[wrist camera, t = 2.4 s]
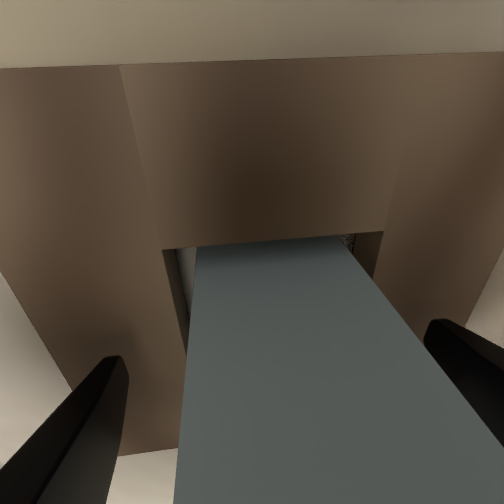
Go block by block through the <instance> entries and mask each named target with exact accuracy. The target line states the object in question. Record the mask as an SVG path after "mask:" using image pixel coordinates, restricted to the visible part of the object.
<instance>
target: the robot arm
mask: <svg viewBox="0 0 504 504" xmlns="http://www.w3.org/2000/svg"><path fill="white" fill-rule="evenodd" d="M423 343H424V346H425V348H426V349H427V351H428V352H429V353H430V354H431V356H432V357H433V358H434V360H435V361H436V362H437V363H438V365H439V366H440V367H441V369H442V370H443V371H444V372H445V374H446V375H447V376H448V377H449V379H450V380H451V381H452V383H453V384H454V385H455V386H456V388H457V389H458V390H459V392H460V393H461V394H462V395H463V397H464V398H465V399H466V400H467V402H468V403H469V404H470V406H471V407H472V408H473V409H474V411H475V412H476V413H477V415H478V416H479V417H480V418H481V420H482V421H483V422H484V423H485V425H486V426H487V427H488V429H489V430H490V431H491V432H492V434H493V435H494V436H495V437H496V439H497V440H498V441H499V443H500V444H501V445H502V446H503V448H504V348H502V347H500V346H498V345H496V344H494V343H492V342H490V341H489V340H487V339H485V338H483V337H481V336H479V335H477V334H475V333H473V332H472V331H470V330H468V329H466V328H464V327H462V326H460V325H458V324H457V323H455V322H453V321H451V320H449V319H446V318H440V319H433V320H431V321H430V322H429V325H428V327H427V330H426V332H425V335H424V337H423ZM128 388H129V372H128V370H127V368H126V365H125V363H124V360H123V358H122V356H120V355H114V356H106V357H104V358H103V359H102V360H101V361H100V362H99V363H98V364H97V365H96V366H95V367H94V369H93V370H92V371H91V372H90V373H89V374H88V375H87V376H86V377H85V378H84V379H83V380H82V382H81V383H80V384H79V385H78V386H77V387H76V388H75V389H74V390H73V391H72V392H71V393H70V394H69V396H68V397H67V398H66V399H65V400H64V401H63V402H62V403H61V404H60V405H59V406H58V407H57V409H56V410H55V411H54V412H53V413H52V414H51V415H50V416H49V417H48V418H47V419H46V420H45V422H44V423H43V424H42V425H41V426H40V427H39V428H38V429H37V430H36V431H35V432H34V433H33V435H32V436H31V437H30V438H29V439H28V440H27V441H26V442H25V443H24V444H23V445H22V446H21V448H20V449H19V450H18V451H17V452H16V453H15V454H14V455H13V456H12V457H11V458H10V459H9V461H8V462H7V463H6V464H5V465H4V466H3V467H2V468H1V469H0V504H106V501H107V496H108V492H109V488H110V484H111V480H112V476H113V472H114V468H115V464H116V460H117V456H118V452H119V447H120V443H121V437H122V431H123V424H124V417H125V410H126V402H127V395H128Z"/></svg>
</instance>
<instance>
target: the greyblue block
mask: <svg viewBox="0 0 504 504" xmlns="http://www.w3.org/2000/svg"><path fill="white" fill-rule="evenodd" d="M173 504H504V448H503V446H502V445H501V444H500V443H499V441H498V440H497V439H496V437H495V436H494V435H493V434H492V432H491V431H490V430H489V429H488V427H487V426H486V425H485V423H484V422H483V421H482V420H481V418H480V417H479V416H478V415H477V413H476V412H475V411H474V409H473V408H472V407H471V406H470V404H469V403H468V402H467V400H466V399H465V398H464V397H463V395H462V394H461V393H460V392H459V390H458V389H457V388H456V386H455V385H454V384H453V383H452V381H451V380H450V379H449V377H448V376H447V375H446V374H445V372H444V371H443V370H442V369H441V367H440V366H439V365H438V363H437V362H436V361H435V360H434V358H433V357H432V356H431V354H430V353H429V352H428V351H427V349H426V348H425V347H424V346H423V344H422V343H421V342H420V340H419V339H418V338H417V337H416V335H415V334H414V333H413V331H412V330H411V329H410V328H409V326H408V325H407V324H406V323H405V321H404V320H403V319H402V317H401V316H400V315H399V314H398V312H397V311H396V310H395V309H394V307H393V306H392V305H391V303H390V302H389V301H388V300H387V298H386V297H385V296H384V294H383V293H382V292H381V291H380V289H379V288H378V287H377V286H376V284H375V283H374V282H373V280H372V279H371V278H370V277H369V275H368V274H367V273H366V271H365V270H364V269H363V268H362V266H361V265H360V264H359V263H358V261H357V260H356V259H355V257H354V256H353V255H352V254H351V252H350V251H349V250H348V248H347V247H346V246H345V245H344V243H343V242H342V241H341V240H340V238H339V237H338V236H337V235H328V236H317V237H305V238H293V239H281V240H270V241H258V242H246V243H235V244H223V245H211V246H199V247H197V253H196V264H195V274H194V285H193V296H192V307H191V317H190V328H189V339H188V350H187V360H186V371H185V382H184V393H183V403H182V414H181V425H180V436H179V447H178V457H177V468H176V479H175V490H174V500H173Z"/></svg>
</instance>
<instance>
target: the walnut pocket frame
mask: <svg viewBox="0 0 504 504" xmlns="http://www.w3.org/2000/svg"><path fill="white" fill-rule="evenodd" d="M352 233H356V236H355V242H354V247H353V253H352V255H353V256H354V257H355V259H356V260H357V261H358V263H359V264H360V265H361V266H362V268H363V269H364V270H365V271H366V273H367V274H368V275H369V277H370V278H371V279H372V280H373V282H374V283H375V284H376V286H377V287H378V288H379V289H380V291H381V292H382V293H383V294H384V296H385V297H386V298H387V300H388V301H389V302H390V303H391V305H392V306H393V307H394V309H395V310H396V311H397V312H398V314H399V315H400V316H401V317H402V319H403V320H404V321H405V323H406V324H407V325H408V326H409V328H410V329H411V330H412V331H413V333H414V334H415V335H416V337H417V338H418V339H419V340H420V342H421V343H422V344H423V346H424V343H423V337H424V335H425V332H426V330H427V327H428V325H429V322H430V321H431V320H433V319H440V318H446V319H449V320H451V321H453V322H455V323H457V324H458V325H460V326H462V327H464V326H465V324H466V322H467V320H468V318H469V316H470V314H471V312H472V310H473V308H474V306H475V304H476V302H477V300H478V298H479V296H480V294H481V292H482V290H483V288H484V286H485V284H486V282H487V280H488V278H489V276H490V274H491V272H492V270H493V268H494V266H495V264H496V262H497V260H498V258H499V256H500V254H501V252H502V250H503V248H504V52H476V53H446V54H417V55H387V56H358V57H328V58H298V59H269V60H239V61H210V62H180V63H150V64H121V65H91V66H62V67H32V68H2V69H0V271H1V273H2V274H3V276H4V278H5V279H6V281H7V283H8V284H9V286H10V288H11V289H12V291H13V293H14V294H15V296H16V298H17V299H18V301H19V303H20V304H21V306H22V308H23V309H24V311H25V313H26V314H27V316H28V318H29V319H30V321H31V323H32V324H33V326H34V327H35V329H36V331H37V332H38V334H39V336H40V337H41V339H42V341H43V342H44V344H45V346H46V347H47V349H48V351H49V352H50V354H51V356H52V357H53V359H54V361H55V362H56V364H57V366H58V367H59V369H60V371H61V372H62V374H63V376H64V377H65V379H66V381H67V382H68V384H69V386H70V387H71V389H72V391H73V390H74V389H75V388H76V387H77V386H78V385H79V384H80V383H81V382H82V380H83V379H84V378H85V377H86V376H87V375H88V374H89V373H90V372H91V371H92V370H93V369H94V367H95V366H96V365H97V364H98V363H99V362H100V361H101V360H102V359H103V358H104V357H106V356H114V355H120V356H122V358H123V360H124V363H125V365H126V368H127V370H128V372H129V388H128V395H127V402H126V410H125V417H124V424H123V431H122V437H121V443H120V447H119V452H118V456H124V455H131V454H138V453H145V452H152V451H159V450H166V449H174V448H178V447H179V436H180V425H181V414H182V403H183V393H184V382H185V371H186V360H187V350H188V339H189V328H190V325H189V320H188V315H187V310H186V305H185V300H184V295H183V290H182V286H181V281H180V276H179V271H178V266H177V261H176V256H175V251H174V249H176V248H188V247H199V246H211V245H223V244H235V243H246V242H258V241H270V240H281V239H293V238H305V237H317V236H328V235H340V234H352ZM424 347H425V346H424Z"/></svg>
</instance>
